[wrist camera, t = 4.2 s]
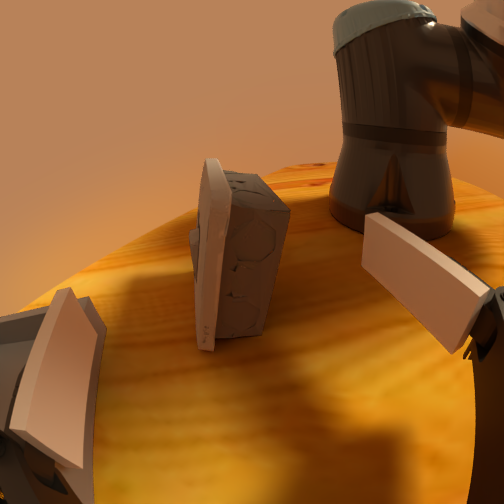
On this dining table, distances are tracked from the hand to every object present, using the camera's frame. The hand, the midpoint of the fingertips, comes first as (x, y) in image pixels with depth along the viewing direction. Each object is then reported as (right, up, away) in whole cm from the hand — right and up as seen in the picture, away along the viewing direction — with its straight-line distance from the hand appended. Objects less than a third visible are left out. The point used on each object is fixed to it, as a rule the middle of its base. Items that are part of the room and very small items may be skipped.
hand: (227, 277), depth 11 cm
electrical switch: (0, -2, +8) cm, 9 cm away
